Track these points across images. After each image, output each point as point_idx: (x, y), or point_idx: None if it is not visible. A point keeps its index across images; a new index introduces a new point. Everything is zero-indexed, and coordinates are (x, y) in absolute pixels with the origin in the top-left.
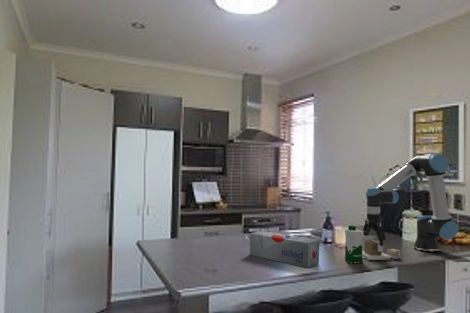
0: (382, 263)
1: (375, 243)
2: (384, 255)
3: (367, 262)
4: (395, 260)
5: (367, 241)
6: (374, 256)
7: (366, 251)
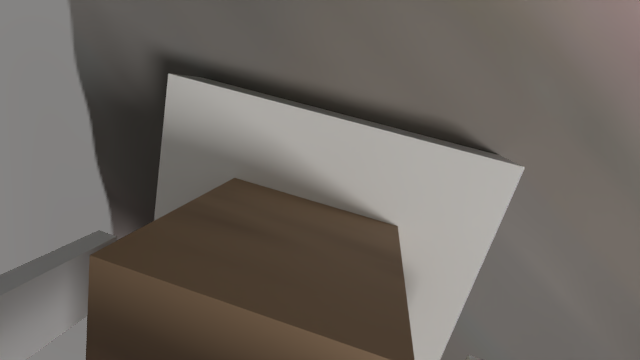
0: (97, 141)
1: (93, 348)
2: None
3: (163, 4)
4: None
5: (296, 353)
6: (164, 156)
7: (340, 219)
